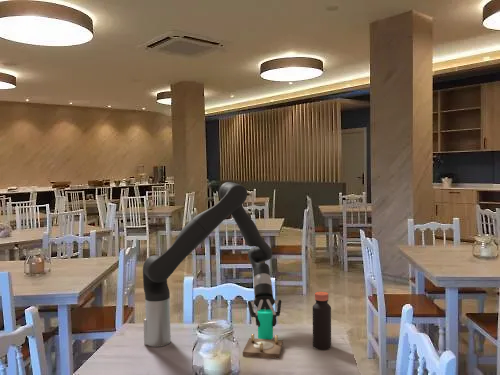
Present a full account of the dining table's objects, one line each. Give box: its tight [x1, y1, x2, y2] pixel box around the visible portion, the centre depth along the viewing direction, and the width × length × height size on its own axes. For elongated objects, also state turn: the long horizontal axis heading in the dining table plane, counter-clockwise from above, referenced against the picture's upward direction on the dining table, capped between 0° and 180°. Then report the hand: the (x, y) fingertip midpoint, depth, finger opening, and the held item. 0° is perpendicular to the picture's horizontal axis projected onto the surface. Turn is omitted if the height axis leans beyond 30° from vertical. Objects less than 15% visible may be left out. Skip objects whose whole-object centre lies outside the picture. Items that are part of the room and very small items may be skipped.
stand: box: [242, 337, 284, 359], centre depth 165 cm, size 13×13×2 cm
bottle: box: [312, 291, 332, 351], centre depth 166 cm, size 7×7×20 cm
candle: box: [257, 309, 274, 339], centre depth 176 cm, size 6×6×12 cm
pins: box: [250, 333, 279, 352], centre depth 163 cm, size 10×9×3 cm
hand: (266, 325), depth 175 cm, fingers closed on candle, 5 cm apart
